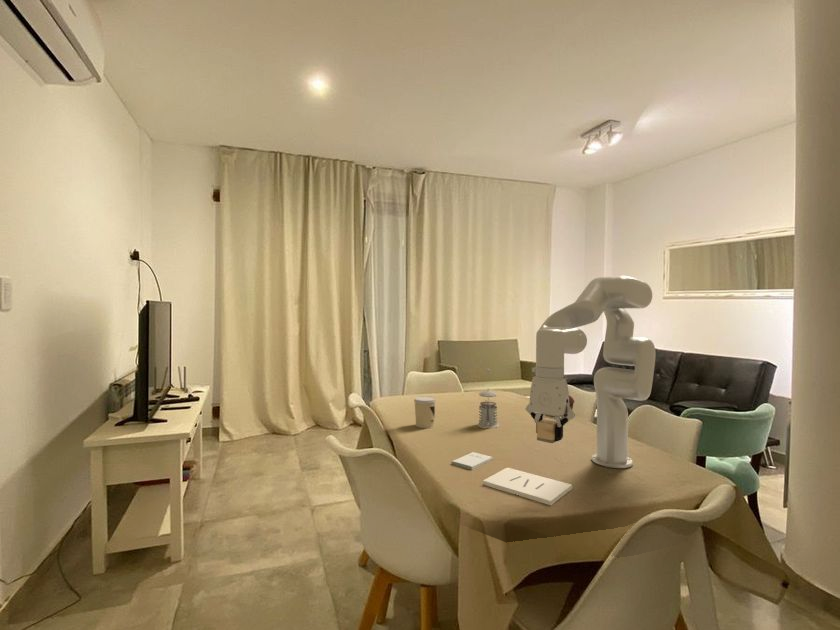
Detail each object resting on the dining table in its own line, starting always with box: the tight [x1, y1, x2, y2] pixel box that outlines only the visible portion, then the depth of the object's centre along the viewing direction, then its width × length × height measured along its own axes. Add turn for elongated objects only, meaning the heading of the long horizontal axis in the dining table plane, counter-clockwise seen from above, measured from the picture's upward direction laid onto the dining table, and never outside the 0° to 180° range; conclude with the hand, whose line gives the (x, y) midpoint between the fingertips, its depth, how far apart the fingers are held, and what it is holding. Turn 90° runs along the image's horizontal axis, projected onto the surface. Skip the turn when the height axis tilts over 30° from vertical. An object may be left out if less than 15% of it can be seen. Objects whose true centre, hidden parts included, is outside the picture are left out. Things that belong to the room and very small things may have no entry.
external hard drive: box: [451, 451, 493, 471], centre depth 148 cm, size 2×8×12 cm
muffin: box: [563, 394, 576, 417], centre depth 214 cm, size 12×11×10 cm
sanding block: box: [536, 417, 557, 444], centre depth 123 cm, size 6×4×5 cm
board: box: [482, 467, 573, 506], centre depth 128 cm, size 14×21×1 cm, turn 49°
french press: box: [476, 368, 500, 429], centre depth 193 cm, size 10×12×25 cm
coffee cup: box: [413, 396, 437, 429], centre depth 194 cm, size 9×9×12 cm
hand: (549, 437), depth 123 cm, fingers closed on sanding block, 4 cm apart
